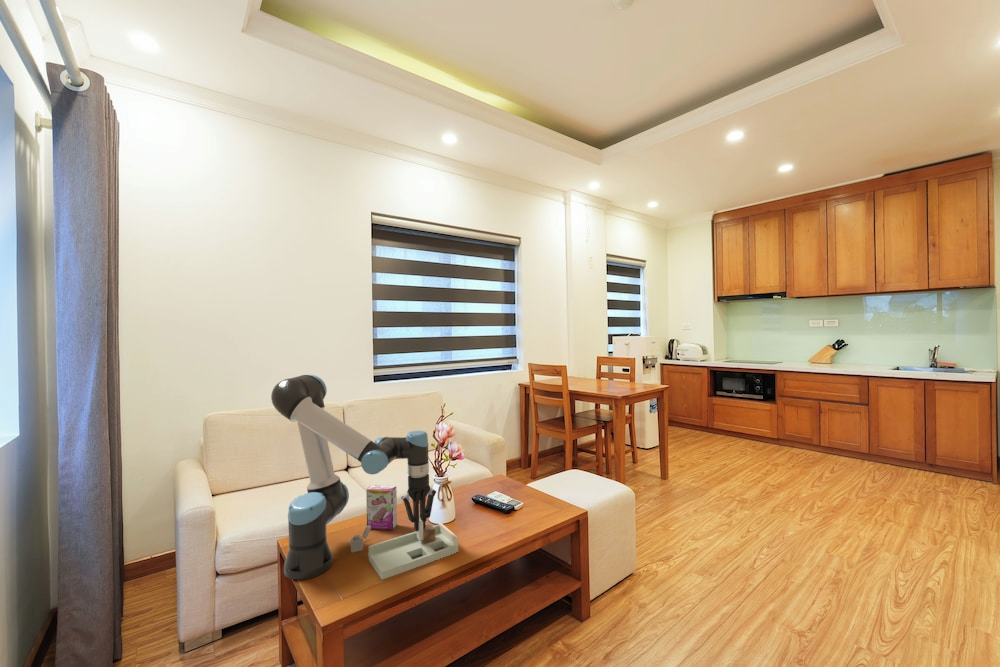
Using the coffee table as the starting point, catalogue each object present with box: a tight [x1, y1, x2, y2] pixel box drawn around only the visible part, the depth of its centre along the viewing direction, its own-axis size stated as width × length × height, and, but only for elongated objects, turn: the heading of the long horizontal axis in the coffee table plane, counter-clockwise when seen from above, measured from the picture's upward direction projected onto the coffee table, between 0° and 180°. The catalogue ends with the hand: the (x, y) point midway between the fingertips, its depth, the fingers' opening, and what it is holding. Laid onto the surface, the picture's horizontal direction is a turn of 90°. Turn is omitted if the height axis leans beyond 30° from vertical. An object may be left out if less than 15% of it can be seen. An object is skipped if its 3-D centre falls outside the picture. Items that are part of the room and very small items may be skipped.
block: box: [420, 523, 435, 544], centre depth 156 cm, size 4×4×4 cm
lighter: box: [349, 525, 372, 554], centre depth 155 cm, size 7×2×8 cm, turn 117°
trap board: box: [367, 522, 459, 581], centre depth 150 cm, size 28×14×6 cm, turn 124°
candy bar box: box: [365, 484, 398, 531], centre depth 171 cm, size 11×5×16 cm, turn 84°
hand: (420, 538), depth 154 cm, fingers closed
